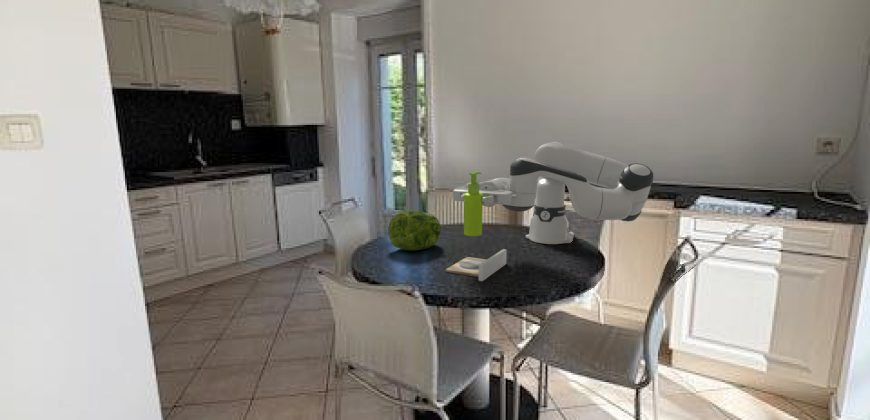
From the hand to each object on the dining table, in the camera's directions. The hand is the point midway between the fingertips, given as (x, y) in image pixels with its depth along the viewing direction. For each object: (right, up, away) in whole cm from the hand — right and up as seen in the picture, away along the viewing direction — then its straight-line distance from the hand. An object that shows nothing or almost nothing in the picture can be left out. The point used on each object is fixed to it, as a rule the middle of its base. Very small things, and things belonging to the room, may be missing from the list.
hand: (472, 199), depth 151 cm
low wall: (+7, -23, +1) cm, 24 cm away
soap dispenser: (0, -11, +3) cm, 12 cm away
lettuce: (-18, -18, +29) cm, 39 cm away
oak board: (+1, -22, +5) cm, 23 cm away
